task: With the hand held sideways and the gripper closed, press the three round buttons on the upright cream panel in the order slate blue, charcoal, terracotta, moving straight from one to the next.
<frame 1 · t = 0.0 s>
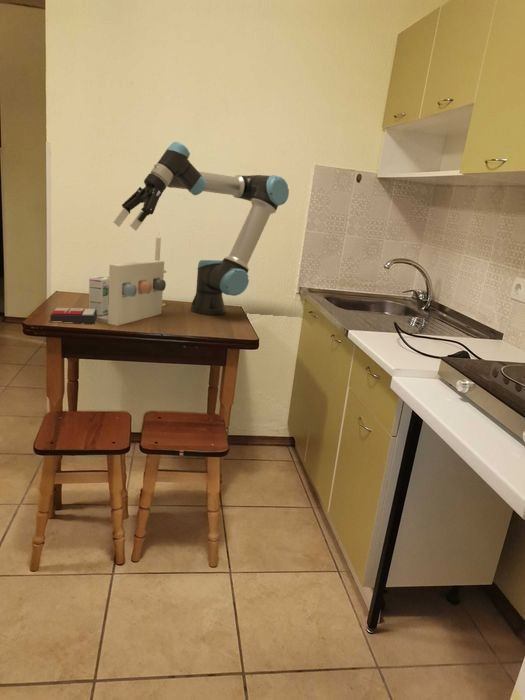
hand: (124, 226, 182), 36 cm above the table, tool tilted 35°, fingers open, 13 cm apart
slate blue button: (128, 289, 190), point 13 cm above the table, slide at 0.0 cm
terracotta button: (144, 287, 199), point 13 cm above the table, slide at 0.0 cm
control panel: (136, 318, 203), on the table
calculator: (74, 321, 191), on the table
charcoal button: (158, 284, 208), point 13 cm above the table, slide at 0.0 cm
candle: (155, 304, 234), on the table
syrup box: (98, 314, 205), on the table
beer can: (109, 308, 217), on the table
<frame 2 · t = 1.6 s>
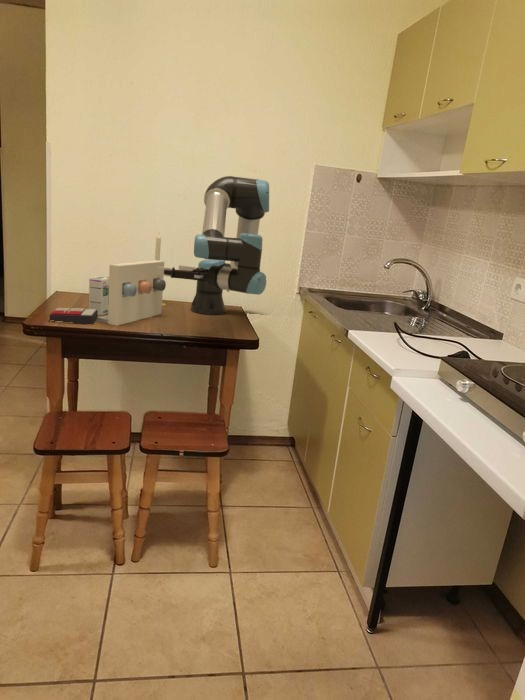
hand: (168, 269, 182), 23 cm above the table, tool horizontal, fingers open, 13 cm apart
nothing on the table moved.
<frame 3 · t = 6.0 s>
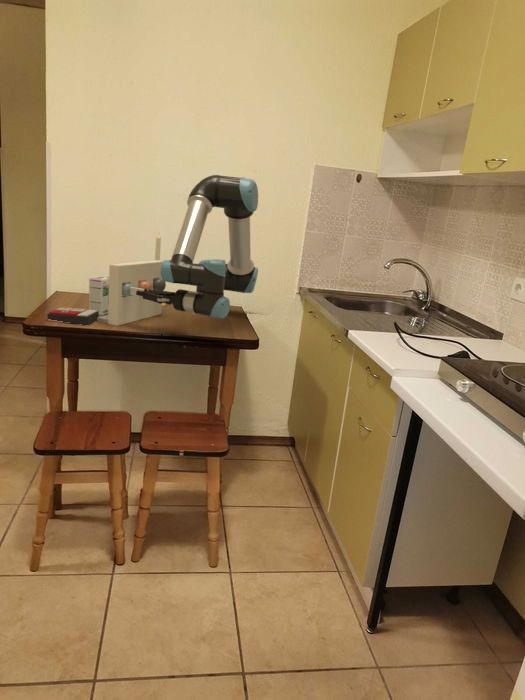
hand: (131, 290, 189), 13 cm above the table, tool horizontal, fingers closed
slate blue button: (126, 289, 190), point 13 cm above the table, slide at 0.9 cm, touching gripper
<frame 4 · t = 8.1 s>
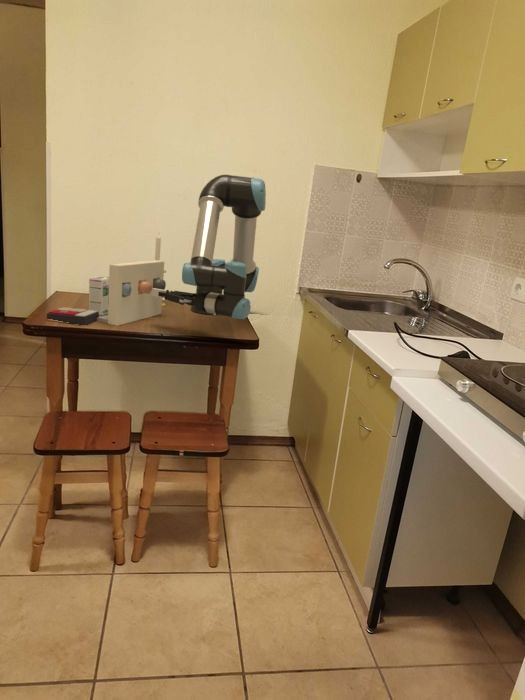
hand: (153, 291, 193), 13 cm above the table, tool horizontal, fingers closed
slate blue button: (123, 288, 191), point 13 cm above the table, slide at 2.3 cm
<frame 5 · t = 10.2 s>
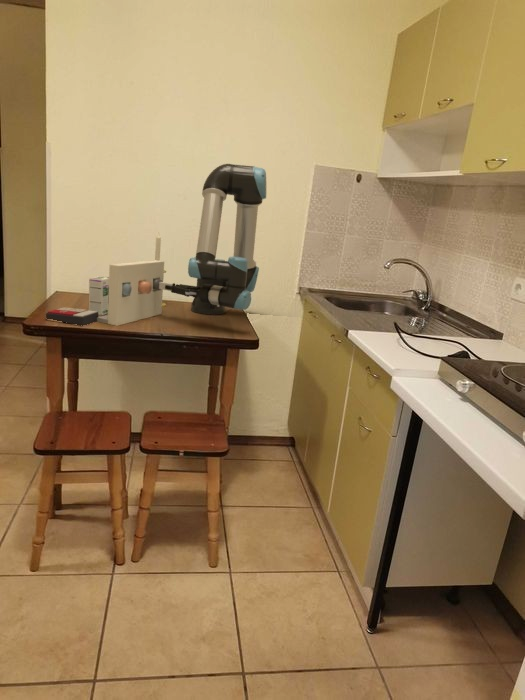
hand: (160, 285, 208), 13 cm above the table, tool horizontal, fingers closed
charcoal button: (155, 284, 209), point 13 cm above the table, slide at 1.3 cm, touching gripper
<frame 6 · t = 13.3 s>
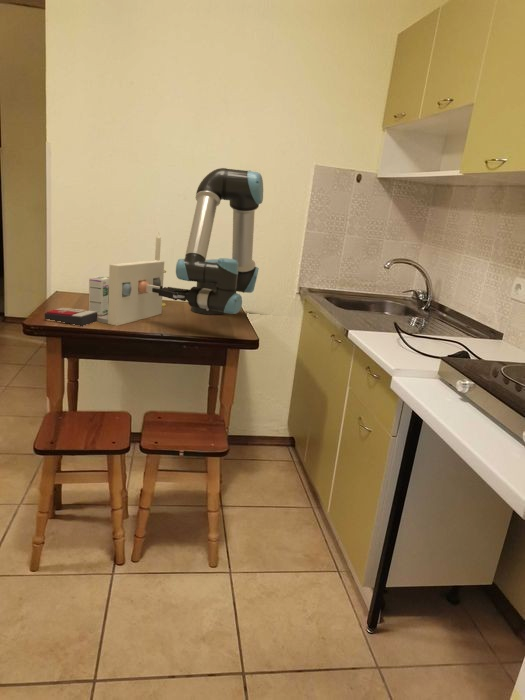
hand: (147, 288, 198), 13 cm above the table, tool horizontal, fingers closed
terracotta button: (142, 286, 199), point 13 cm above the table, slide at 0.7 cm, touching gripper
charcoal button: (153, 283, 209), point 13 cm above the table, slide at 2.3 cm
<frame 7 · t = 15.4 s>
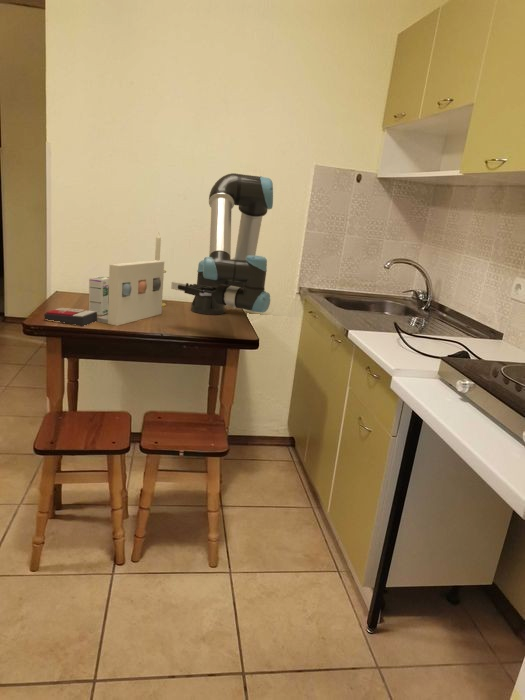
hand: (172, 285, 194), 16 cm above the table, tool horizontal, fingers closed
terracotta button: (139, 286, 200), point 13 cm above the table, slide at 2.3 cm
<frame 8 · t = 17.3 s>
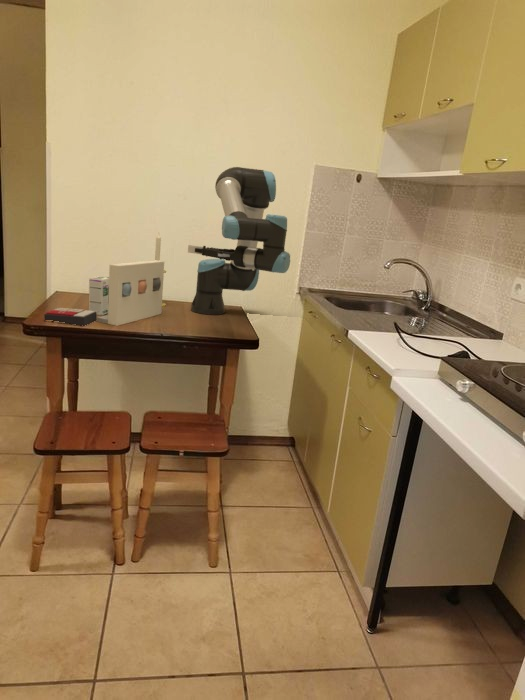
hand: (189, 248, 191), 30 cm above the table, tool horizontal, fingers closed
at the end: slate blue button slide at 2.3 cm; charcoal button slide at 2.3 cm; terracotta button slide at 2.3 cm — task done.
